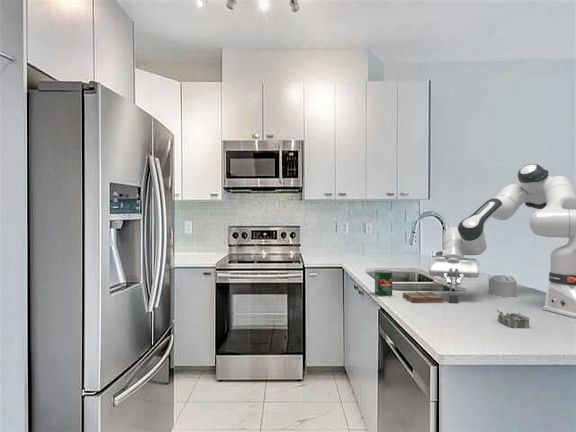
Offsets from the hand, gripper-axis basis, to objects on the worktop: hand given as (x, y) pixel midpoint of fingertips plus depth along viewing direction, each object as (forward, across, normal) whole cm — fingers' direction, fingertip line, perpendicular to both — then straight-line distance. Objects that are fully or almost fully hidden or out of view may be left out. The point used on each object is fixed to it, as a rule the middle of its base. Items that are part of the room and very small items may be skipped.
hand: (453, 283), depth 185 cm
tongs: (+5, 0, -6) cm, 8 cm away
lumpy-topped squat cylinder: (-13, -22, -24) cm, 35 cm away
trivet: (+4, +12, -7) cm, 15 cm away
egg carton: (+28, -18, +16) cm, 37 cm away
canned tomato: (+1, +30, -11) cm, 32 cm away
